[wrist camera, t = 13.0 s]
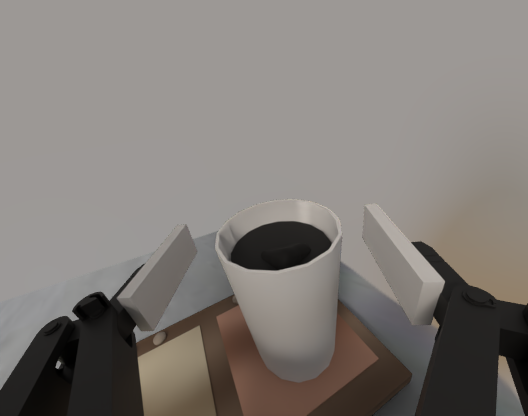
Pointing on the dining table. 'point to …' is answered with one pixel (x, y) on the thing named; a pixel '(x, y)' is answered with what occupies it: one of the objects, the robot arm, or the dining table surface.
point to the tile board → (260, 371)
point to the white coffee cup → (286, 281)
